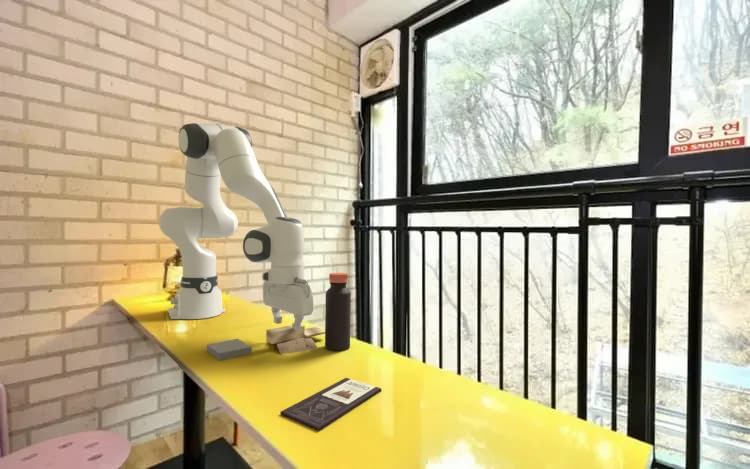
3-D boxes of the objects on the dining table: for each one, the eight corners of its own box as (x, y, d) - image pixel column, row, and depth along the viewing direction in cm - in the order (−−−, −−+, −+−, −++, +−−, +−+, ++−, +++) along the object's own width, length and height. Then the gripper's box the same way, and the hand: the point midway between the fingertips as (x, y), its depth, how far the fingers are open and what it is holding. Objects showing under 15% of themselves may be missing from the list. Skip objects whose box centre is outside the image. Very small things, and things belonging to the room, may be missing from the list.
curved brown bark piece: (266, 343, 105) (266, 334, 104) (300, 338, 110) (300, 329, 110) (281, 359, 92) (281, 348, 92) (319, 352, 97) (319, 342, 97)
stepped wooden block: (275, 345, 94) (275, 333, 94) (263, 340, 99) (263, 328, 98) (327, 333, 106) (327, 322, 106) (315, 328, 111) (315, 318, 111)
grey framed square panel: (207, 344, 95) (219, 353, 88) (237, 338, 101) (251, 346, 94) (206, 352, 95) (219, 362, 89) (237, 346, 101) (251, 354, 94)
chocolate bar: (280, 411, 63) (346, 377, 78) (280, 417, 63) (346, 382, 78) (319, 428, 58) (381, 388, 73) (319, 434, 58) (381, 393, 73)
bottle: (355, 347, 100) (356, 273, 99) (336, 353, 95) (337, 276, 95) (338, 341, 104) (339, 271, 104) (319, 347, 99) (320, 273, 99)
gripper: (319, 279, 96) (318, 332, 96) (278, 271, 110) (278, 317, 110) (298, 281, 91) (298, 336, 91) (259, 273, 106) (258, 321, 106)
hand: (286, 326), depth 101 cm, fingers open, 8 cm apart
